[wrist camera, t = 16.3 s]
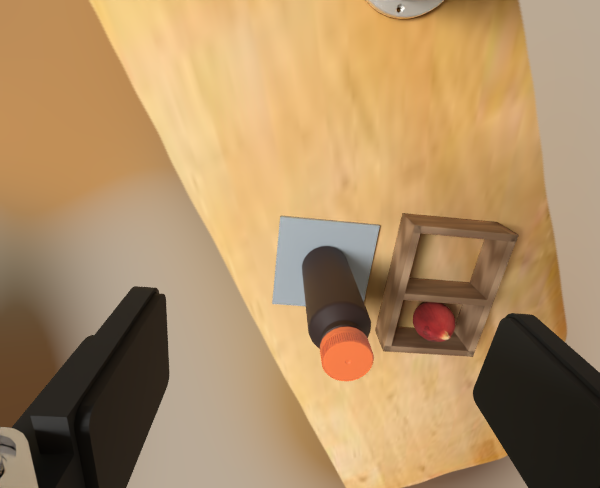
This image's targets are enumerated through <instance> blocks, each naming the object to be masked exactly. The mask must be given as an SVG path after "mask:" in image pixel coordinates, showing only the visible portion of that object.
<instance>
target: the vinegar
mask: <svg viewBox="0 0 600 488" xmlns="http://www.w3.org/2000/svg"><path fill="white" fill-rule="evenodd" d="M302 276H303V285H304V294H305V304H306V313H307V322H308V331H309V335H310V337H311V340H312V342H313V343H314V344H315V345H316V346H317V347H318V348H319V349H320V354H321V361H322V367H323V369H324V370H325V372H326V373H327V375H329V376H330V377H332V378H334V379H335V380H339V381H353V380H355V379H358V378H360V377H362V376H364V375H365V374H366V373H368V371H369V370H370V368H371V366H372V365H373V359H374V357H373V352H372V350H371V347H370V344H369V342H368V339H367V338H368V335H369V333H370V329H371V321H370V318H369V315H368V312H367V310H366V307H365V305H364V302H363V299H362V297H361V294H360V292H359V289H358V287H357V284H356V282H355V279H354V276H353V274H352V271H351V269H350V266H349V264H348V261H347V258H346V256H345V255H344V254H343V253H342V252H341V251H340V250H338V249H337V248H334V247H330V246H321V247H318V248H315V249H313V250H312V251H310V252H309V253H308V254H307V255H306V257H305V258H304V260H303V264H302Z"/></svg>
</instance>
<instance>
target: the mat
mask: <svg viewBox="0 0 600 488" xmlns="http://www.w3.org/2000/svg"><path fill="white" fill-rule="evenodd" d="M379 227H380V226H379V225H376V224H365V223H354V222H343V221H332V220H321V219H310V218H299V217H288V216H280V226H279V237H278V248H277V259H276V270H275V280H274V291H273V302H272V304H282V305H297V306H306V304H305V294H304V285H303V276H302V264H303V260H304V258H305V257H306V255H307V254H308V253H309V252H310V251H312V250H313V249H315V248H318V247H321V246H330V247H334V248H337V249H338V250H340V251H341V252H342V253H343V254H344V255H345V256H346V258H347V261H348V264H349V266H350V269H351V271H352V274H353V276H354V279H355V282H356V284H357V287H358V289H359V292H360V294H361V297H362V299H363V302H364V299H365V294H366V289H367V285H368V280H369V275H370V270H371V266H372V261H373V256H374V251H375V246H376V242H377V237H378V232H379Z"/></svg>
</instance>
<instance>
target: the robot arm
mask: <svg viewBox="0 0 600 488" xmlns="http://www.w3.org/2000/svg"><path fill="white" fill-rule="evenodd" d="M366 1H367V2H368V3H369V5H370V6H371V7H373V8H374V9H375V10H377V11H378V12H379V13H381V14H384V15H386V16H388V17H392V18H397V19H410V18H414V17H418V16H421V15H423V14H425V13H427V12H429V11H431V10H432V9H434V8H435V7H437V6H438V5H440V4H441V3H442V2H443V1H444V0H366ZM397 8H400V12H397ZM168 380H169V358H168V335H167V314H166V297H165V295H164V294H159V291H158V289H157V288H150V287H133V288H132V289H131V290H130V291H129V292H128V294H127V295H126V296H125V297H124V299H123V300H122V301H121V302H120V304H119V305H118V306H117V307H116V309H115V310H114V311H113V313H112V314H111V315H110V316H109V318H108V319H107V320H106V321H105V323H104V324H103V325H102V326H101V328H100V329H99V330H98V331H97V333H96V334H95V335H91V336H89V337H87V338H86V339H85V340H84V341H83V342H82V343H81V344H80V345H79V347H78V348H77V349H76V350H75V352H74V353H73V354H72V355H71V356H70V358H69V359H68V360H67V361H66V362H65V364H64V365H63V366H62V367H61V368H60V370H59V371H58V372H57V373H56V374H55V376H54V377H53V378H52V379H51V381H50V382H49V383H48V385H46V387H45V388H44V389H43V390H42V391H41V393H40V394H39V395H38V396H37V398H36V399H35V400H34V401H33V403H32V404H31V405H30V406H29V407H28V408H27V410H26V411H25V412H24V413H23V415H22V416H21V417H20V418H19V420H18V421H17V422H16V423H15V424H14V425H13V427H12V428H6V427H0V488H126V487H127V484H128V482H129V479H130V477H131V474H132V472H133V470H134V467H135V464H136V462H137V460H138V457H139V455H140V452H141V450H142V447H143V444H144V442H145V440H146V437H147V435H148V432H149V430H150V428H151V425H152V422H153V420H154V418H155V415H156V413H157V410H158V408H159V405H160V403H161V400H162V398H163V395H164V393H165V390H166V388H167V385H168ZM473 397H474V401H475V403H476V405H477V406H478V408H479V409H480V411H481V413H482V414H483V416H484V417H485V419H486V421H487V422H488V424H489V425H490V427H491V429H492V430H493V432H494V433H495V435H496V437H497V438H498V440H499V441H500V443H501V445H502V446H503V448H504V449H505V451H506V453H507V454H508V456H509V457H510V459H511V461H512V462H513V464H514V465H515V467H516V469H517V470H518V472H519V473H520V475H521V477H522V478H523V480H524V481H525V483H526V485H527V486H528V488H600V373H599V372H598V371H597V370H596V369H595V368H594V367H592V366H591V365H590V364H589V363H588V362H587V361H586V360H584V359H583V358H582V357H581V356H580V355H579V354H578V353H576V352H575V351H574V350H573V349H572V348H571V347H570V346H568V345H567V344H566V343H565V342H564V341H563V340H562V339H560V338H559V337H558V336H557V335H556V334H555V333H554V332H552V331H551V330H550V329H549V328H548V327H547V326H546V325H544V324H543V323H542V322H541V321H540V320H539V319H538V318H536V317H535V316H533V315H529V314H515V313H511V314H508V315H507V316H506V317H505V318H503V319H502V320H501V321H500V323H499V326H498V328H497V331H496V333H495V336H494V338H493V341H492V343H491V346H490V348H489V351H488V353H487V356H486V359H485V361H484V364H483V366H482V369H481V371H480V374H479V376H478V379H477V381H476V384H475V386H474V390H473Z"/></svg>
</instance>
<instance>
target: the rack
mask: <svg viewBox="0 0 600 488" xmlns="http://www.w3.org/2000/svg"><path fill="white" fill-rule="evenodd" d="M420 233H422V234H433V235H444V236H456V237H467V238H478V239H484V242H483V245H482V248H481V251H480V254H479V257H478V260H477V263H476V266H475V269H474V272H473V275H472V278H471V280H470V283H468V282H456V281H443V280H430V279H418V278H409V276H410V272H411V268H412V264H413V260H414V257H415V253H416V249H417V245H418V241H419V237H420ZM517 238H518V234H516V233H515V232H513V231H511V230H509V229H508V228H506V227H504V226H503V225H501V224H499V223H497V222H489V221H479V220H468V219H458V218H447V217H437V216H426V215H415V214H405V213H402V218H401V222H400V226H399V231H398V235H397V239H396V243H395V248H394V252H393V256H392V261H391V265H390V269H389V273H388V278H387V282H386V286H385V291H384V295H383V299H382V304H381V308H380V312H379V316H378V321H377V325H376V329H375V331H376V334H377V336H378V339H379V341H380V344H381V347H382V349H383V351H389V352H405V353H421V354H438V355H454V356H470V357H473V355H474V352H475V349H476V347H477V344H478V341H479V339H480V336H481V333H482V331H483V328H484V325H485V323H486V320H487V317H488V315H489V312H490V309H491V307H492V304H493V302H494V299H495V296H496V294H497V291H498V288H499V286H500V283H501V280H502V278H503V275H504V272H505V270H506V267H507V264H508V262H509V259H510V256H511V254H512V251H513V248H514V246H515V243H516V240H517ZM403 300H410V301H424V302H437V303H451V304H462V307H461V310H460V313H459V316H458V319H457V322H456V325H455V330H454V332H453V334H452V335H451V338H449V339H447V340H445V341H442V342H431V341H428V340H426V339H425V338H423V337H422V336H420V335H419V334H418V333H417V331H416V329H415V328H408V327H396V326H397V322H398V318H399V314H400V310H401V307H402V303H403Z"/></svg>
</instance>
